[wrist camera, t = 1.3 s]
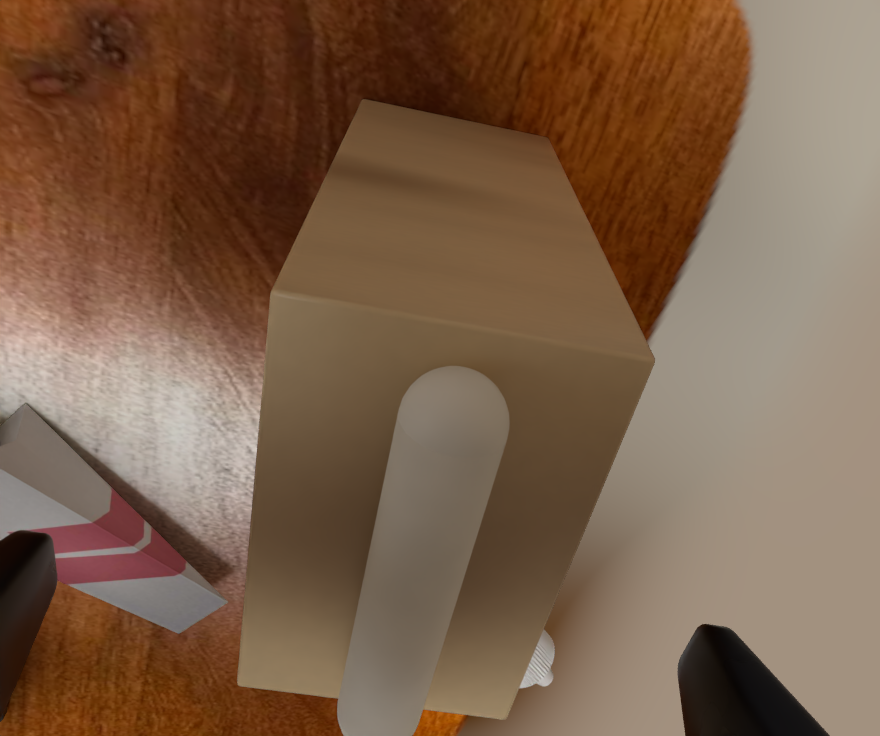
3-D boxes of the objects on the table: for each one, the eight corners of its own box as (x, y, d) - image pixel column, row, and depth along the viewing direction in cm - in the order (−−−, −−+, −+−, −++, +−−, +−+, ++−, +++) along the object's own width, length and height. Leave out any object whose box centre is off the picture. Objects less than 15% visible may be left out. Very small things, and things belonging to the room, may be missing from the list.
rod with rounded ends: (414, 699, 13) (411, 777, 12) (338, 689, 13) (326, 767, 12) (517, 355, 9) (528, 419, 8) (410, 336, 9) (404, 398, 8)
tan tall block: (481, 385, 23) (506, 721, 13) (325, 359, 23) (235, 687, 13) (549, 137, 19) (658, 360, 9) (362, 97, 19) (269, 289, 9)
